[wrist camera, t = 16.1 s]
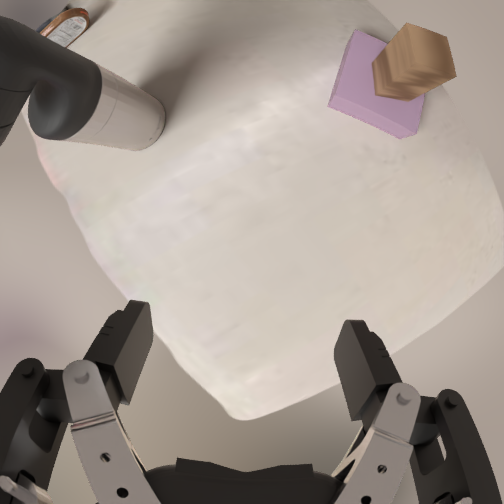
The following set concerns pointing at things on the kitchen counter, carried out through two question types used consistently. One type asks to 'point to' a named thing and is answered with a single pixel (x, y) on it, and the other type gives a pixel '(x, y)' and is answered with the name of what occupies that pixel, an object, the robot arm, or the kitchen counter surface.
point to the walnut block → (412, 64)
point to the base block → (371, 91)
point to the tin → (67, 26)
